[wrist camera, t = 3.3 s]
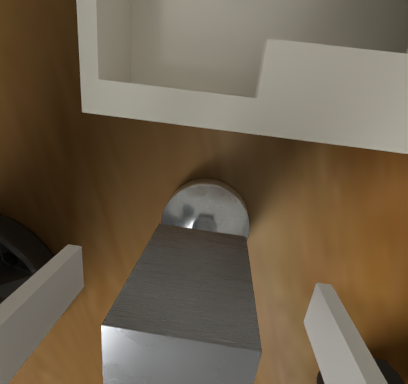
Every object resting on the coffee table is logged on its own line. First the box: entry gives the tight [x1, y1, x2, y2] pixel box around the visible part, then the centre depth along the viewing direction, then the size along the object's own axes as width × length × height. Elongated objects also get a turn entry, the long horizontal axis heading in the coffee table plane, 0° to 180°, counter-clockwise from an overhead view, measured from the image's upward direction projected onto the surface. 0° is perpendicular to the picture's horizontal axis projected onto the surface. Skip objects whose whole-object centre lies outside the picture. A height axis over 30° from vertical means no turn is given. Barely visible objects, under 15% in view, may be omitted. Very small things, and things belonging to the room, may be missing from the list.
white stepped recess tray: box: [76, 0, 408, 154], centre depth 14 cm, size 20×12×6 cm, turn 83°
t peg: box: [101, 178, 262, 384], centre depth 15 cm, size 7×7×14 cm
